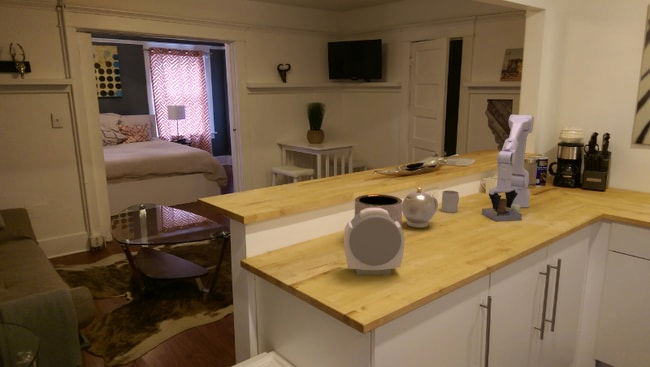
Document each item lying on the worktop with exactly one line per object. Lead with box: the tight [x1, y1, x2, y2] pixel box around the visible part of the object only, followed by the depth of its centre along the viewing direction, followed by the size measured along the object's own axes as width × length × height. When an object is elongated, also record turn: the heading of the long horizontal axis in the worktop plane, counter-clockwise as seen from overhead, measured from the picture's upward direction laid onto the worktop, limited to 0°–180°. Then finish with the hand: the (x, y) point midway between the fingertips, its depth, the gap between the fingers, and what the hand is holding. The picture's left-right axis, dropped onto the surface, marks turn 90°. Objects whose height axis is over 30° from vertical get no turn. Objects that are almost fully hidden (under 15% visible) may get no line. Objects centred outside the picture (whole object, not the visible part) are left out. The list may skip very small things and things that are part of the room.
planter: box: [353, 193, 403, 228], centre depth 165 cm, size 18×18×16 cm
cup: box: [441, 190, 460, 214], centre depth 206 cm, size 7×10×9 cm
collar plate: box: [481, 207, 523, 222], centre depth 196 cm, size 12×12×2 cm
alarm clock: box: [343, 208, 406, 276], centre depth 136 cm, size 18×8×20 cm, turn 92°
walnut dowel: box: [497, 197, 507, 213], centre depth 196 cm, size 4×4×8 cm
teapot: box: [402, 186, 439, 229], centre depth 183 cm, size 18×14×16 cm
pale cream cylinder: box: [510, 204, 521, 214], centre depth 201 cm, size 4×4×4 cm
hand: (501, 208), depth 196 cm, fingers open, 7 cm apart
